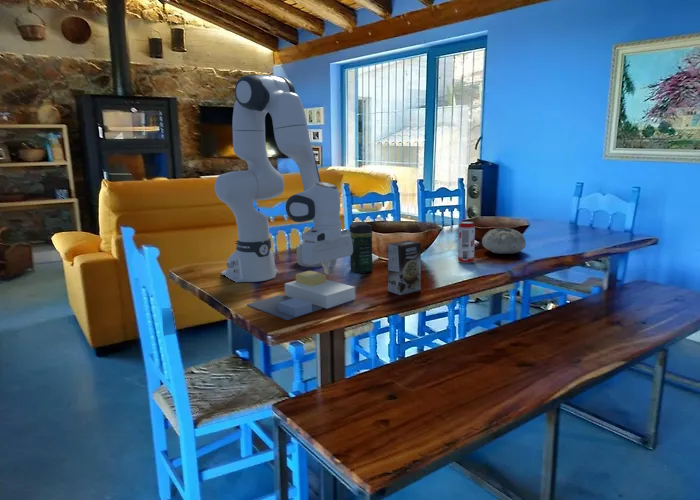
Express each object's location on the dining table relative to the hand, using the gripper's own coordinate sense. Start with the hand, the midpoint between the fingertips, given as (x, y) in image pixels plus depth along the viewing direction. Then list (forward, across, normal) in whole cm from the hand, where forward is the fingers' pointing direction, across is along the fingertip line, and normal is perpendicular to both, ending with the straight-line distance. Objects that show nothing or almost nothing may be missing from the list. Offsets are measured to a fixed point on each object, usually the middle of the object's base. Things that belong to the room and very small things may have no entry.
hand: (329, 273), depth 171 cm
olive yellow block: (0, +8, 0) cm, 8 cm away
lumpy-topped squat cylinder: (+5, -19, -31) cm, 37 cm away
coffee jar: (+6, -24, -8) cm, 26 cm away
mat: (+5, +22, +4) cm, 23 cm away
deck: (+5, +9, +5) cm, 11 cm away
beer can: (+6, -60, +15) cm, 62 cm away
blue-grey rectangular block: (+4, +23, +10) cm, 25 cm away
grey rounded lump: (+6, -84, +18) cm, 86 cm away
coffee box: (+6, -14, +21) cm, 26 cm away
